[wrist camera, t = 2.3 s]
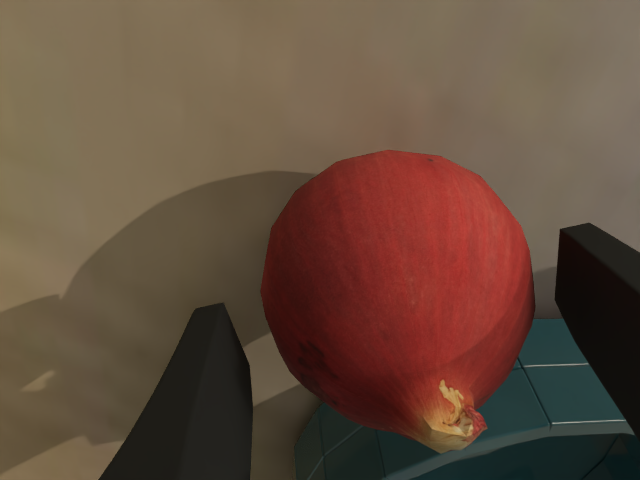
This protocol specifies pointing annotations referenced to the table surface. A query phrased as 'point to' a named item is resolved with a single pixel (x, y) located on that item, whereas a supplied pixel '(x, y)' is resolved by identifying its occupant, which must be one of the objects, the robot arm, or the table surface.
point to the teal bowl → (495, 429)
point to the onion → (400, 294)
